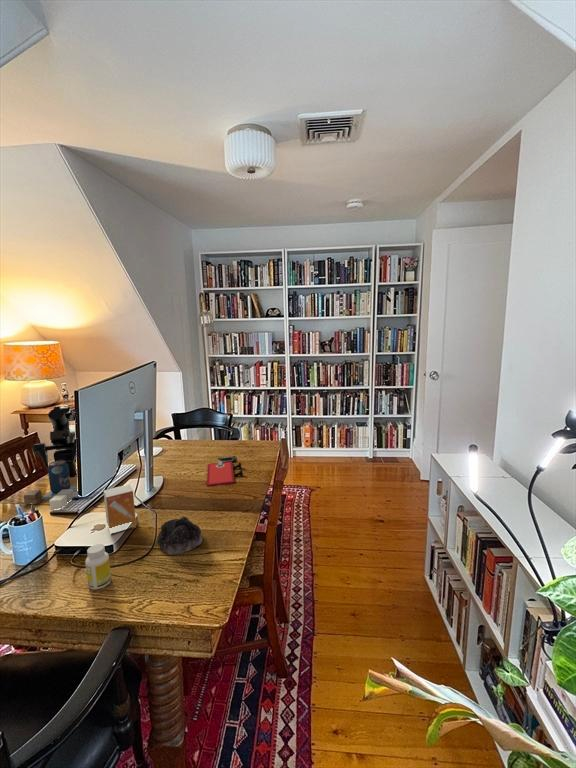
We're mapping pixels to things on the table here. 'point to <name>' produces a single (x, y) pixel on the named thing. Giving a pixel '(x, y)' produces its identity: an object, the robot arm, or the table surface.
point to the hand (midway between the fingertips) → (59, 465)
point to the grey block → (67, 493)
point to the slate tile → (51, 495)
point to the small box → (119, 506)
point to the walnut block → (32, 496)
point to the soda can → (58, 476)
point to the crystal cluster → (179, 536)
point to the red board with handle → (222, 472)
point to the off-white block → (58, 501)
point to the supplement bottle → (98, 567)
